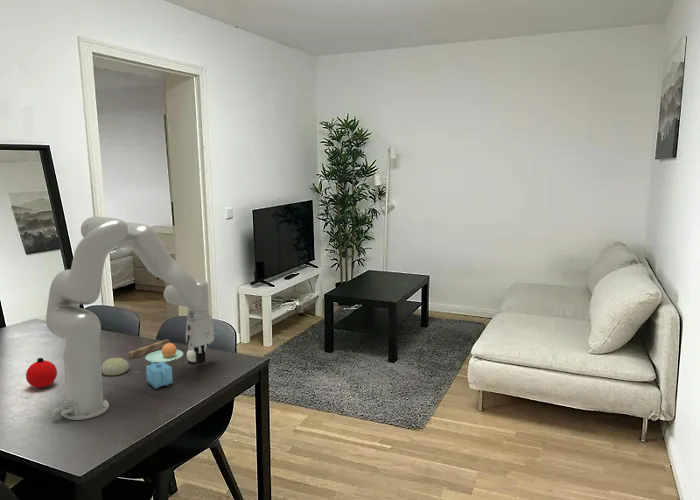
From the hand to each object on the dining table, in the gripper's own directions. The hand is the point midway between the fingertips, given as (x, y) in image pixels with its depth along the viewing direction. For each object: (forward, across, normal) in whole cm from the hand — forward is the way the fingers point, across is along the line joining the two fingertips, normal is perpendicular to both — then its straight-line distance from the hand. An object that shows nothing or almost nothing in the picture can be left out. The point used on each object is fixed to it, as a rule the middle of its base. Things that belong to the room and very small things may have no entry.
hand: (200, 361), depth 196 cm
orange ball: (-1, 0, +17) cm, 17 cm away
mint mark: (+2, 0, +20) cm, 20 cm away
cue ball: (-1, +2, +5) cm, 6 cm away
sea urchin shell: (+2, -20, +22) cm, 30 cm away
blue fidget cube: (+2, -19, 0) cm, 19 cm away
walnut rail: (+2, 0, +28) cm, 29 cm away
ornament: (+2, -41, +31) cm, 51 cm away
